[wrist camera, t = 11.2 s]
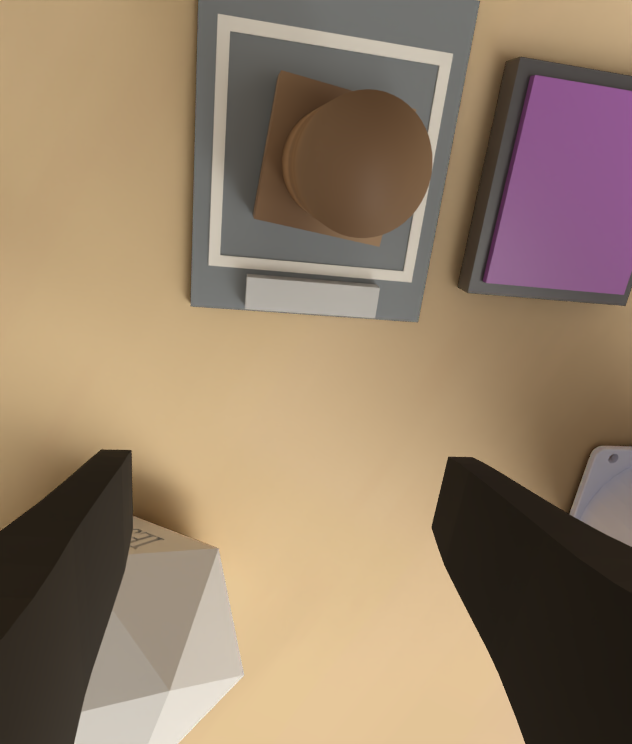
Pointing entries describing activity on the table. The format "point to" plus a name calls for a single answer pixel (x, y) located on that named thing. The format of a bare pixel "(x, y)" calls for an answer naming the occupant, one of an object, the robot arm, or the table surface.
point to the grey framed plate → (248, 135)
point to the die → (162, 644)
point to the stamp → (341, 160)
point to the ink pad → (555, 188)
